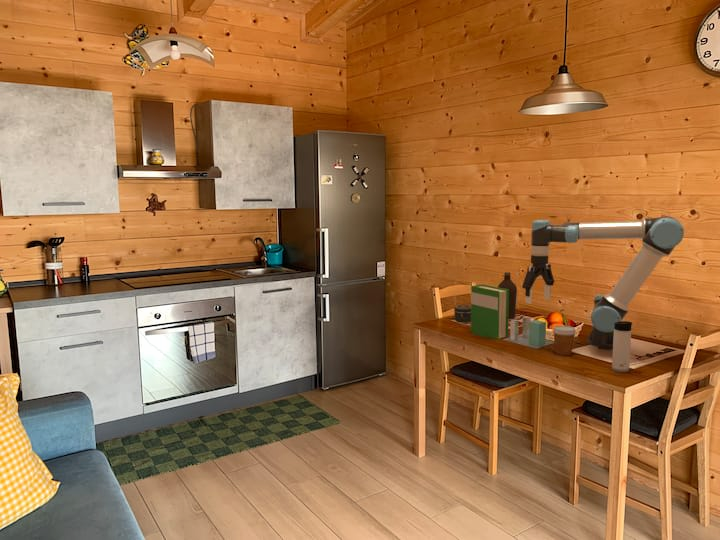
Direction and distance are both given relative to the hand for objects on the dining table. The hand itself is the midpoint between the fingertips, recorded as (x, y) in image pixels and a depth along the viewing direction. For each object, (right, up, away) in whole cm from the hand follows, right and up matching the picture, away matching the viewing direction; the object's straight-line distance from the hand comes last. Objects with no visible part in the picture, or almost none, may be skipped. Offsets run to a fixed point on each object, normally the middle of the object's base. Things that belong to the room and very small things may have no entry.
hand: (537, 301), depth 254 cm
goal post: (-1, -19, +16) cm, 24 cm away
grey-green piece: (+1, -20, +3) cm, 20 cm away
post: (-8, -20, +10) cm, 24 cm away
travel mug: (+23, -26, -31) cm, 46 cm away
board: (-1, -20, +9) cm, 22 cm away
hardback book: (-17, -18, +22) cm, 33 cm away
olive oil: (+1, -12, +59) cm, 60 cm away
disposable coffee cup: (+8, -23, -10) cm, 26 cm away
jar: (-24, -14, +53) cm, 60 cm away
